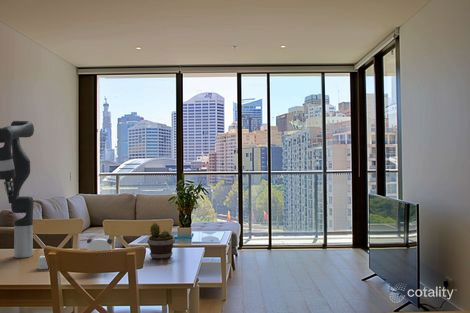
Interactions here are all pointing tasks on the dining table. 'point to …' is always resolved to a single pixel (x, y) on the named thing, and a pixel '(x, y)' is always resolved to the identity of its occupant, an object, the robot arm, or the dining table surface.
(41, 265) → the syrup box
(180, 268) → the dining table surface
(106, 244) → the panda figurine
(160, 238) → the flowerpot
